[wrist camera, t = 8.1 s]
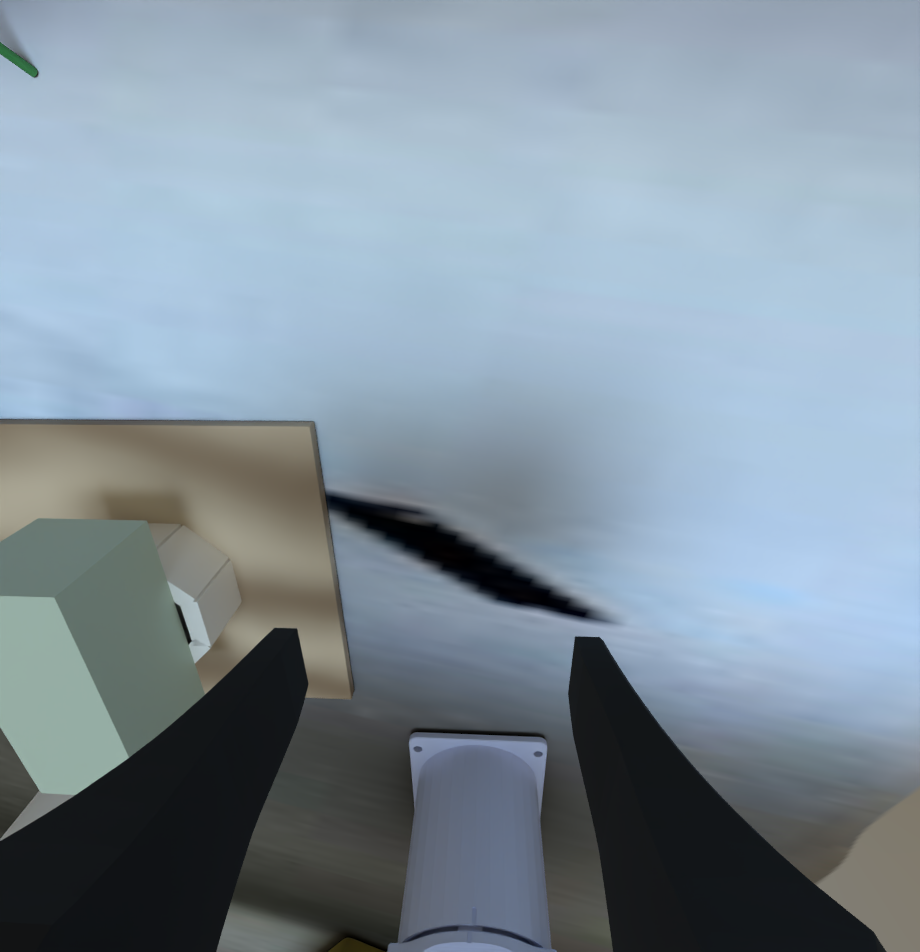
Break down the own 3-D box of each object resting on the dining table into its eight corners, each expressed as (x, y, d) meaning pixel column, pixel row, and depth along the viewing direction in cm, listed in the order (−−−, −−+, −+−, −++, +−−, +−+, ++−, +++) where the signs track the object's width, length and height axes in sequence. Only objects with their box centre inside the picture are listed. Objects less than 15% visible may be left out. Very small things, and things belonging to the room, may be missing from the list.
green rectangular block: (207, 701, 23) (148, 798, 19) (118, 697, 23) (41, 793, 19) (146, 520, 19) (54, 597, 15) (38, 518, 19) (-83, 593, 15)
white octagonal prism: (249, 630, 25) (221, 677, 23) (129, 627, 26) (87, 673, 23) (221, 524, 22) (185, 563, 20) (87, 522, 23) (33, 560, 20)
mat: (354, 690, 28) (351, 699, 27) (82, 680, 28) (74, 689, 28) (314, 421, 21) (309, 426, 20) (-46, 418, 21) (-59, 423, 21)
